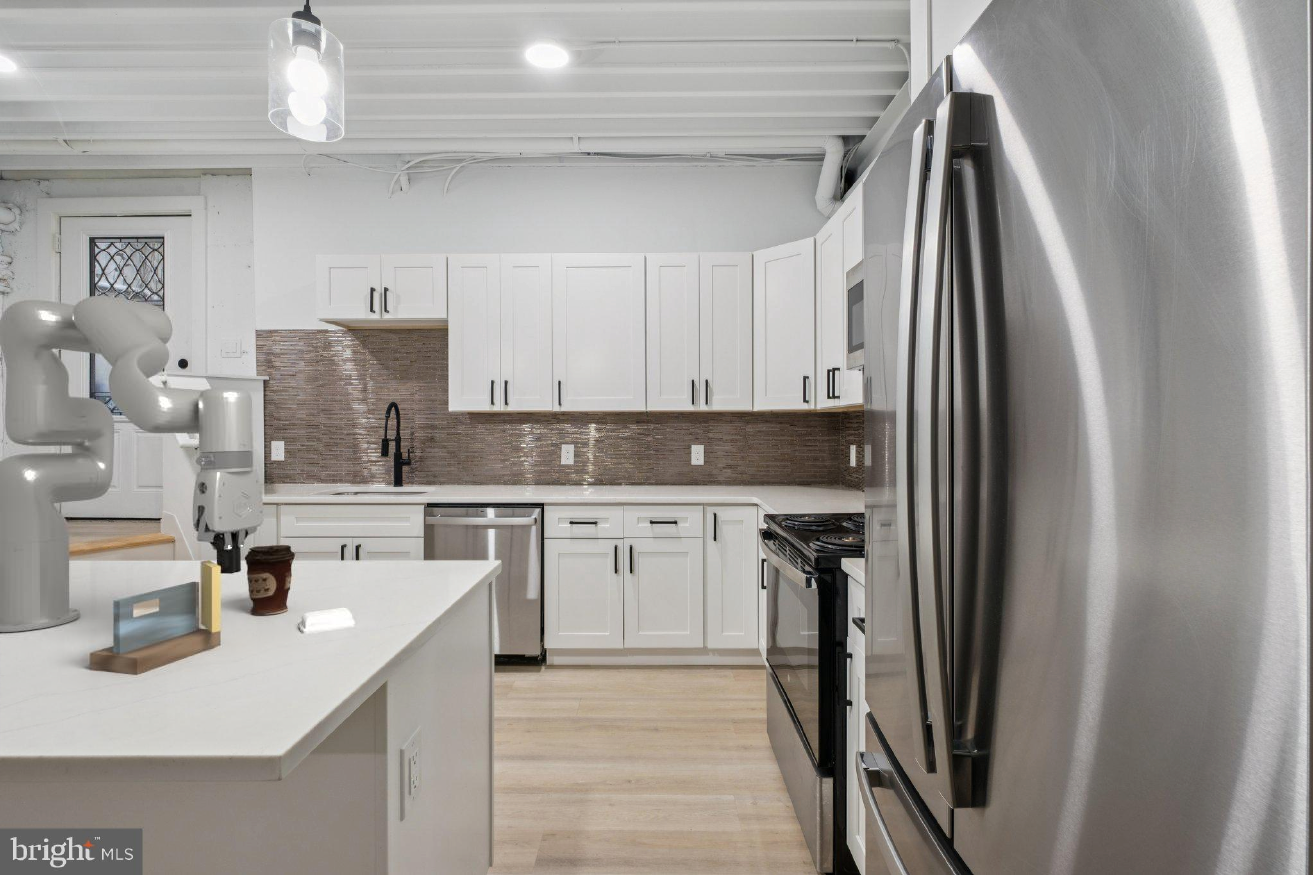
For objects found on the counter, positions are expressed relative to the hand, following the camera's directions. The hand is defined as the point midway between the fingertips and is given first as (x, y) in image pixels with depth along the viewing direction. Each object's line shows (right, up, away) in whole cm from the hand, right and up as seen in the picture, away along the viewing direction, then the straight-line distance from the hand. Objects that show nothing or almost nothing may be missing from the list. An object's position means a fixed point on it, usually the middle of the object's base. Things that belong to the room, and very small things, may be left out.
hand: (228, 572), depth 110 cm
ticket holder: (-8, -12, -5) cm, 15 cm away
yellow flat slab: (-2, -9, -1) cm, 9 cm away
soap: (+10, -13, +12) cm, 20 cm away
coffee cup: (-6, -12, +21) cm, 25 cm away
